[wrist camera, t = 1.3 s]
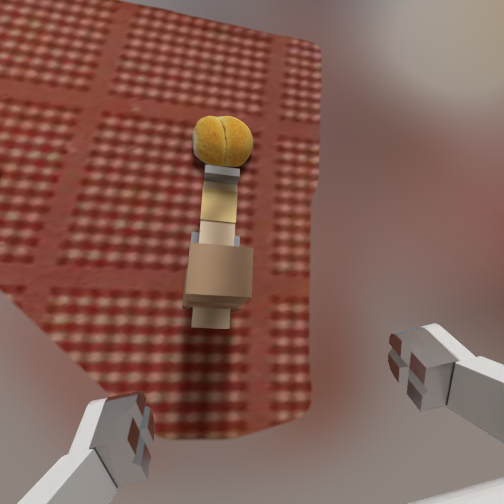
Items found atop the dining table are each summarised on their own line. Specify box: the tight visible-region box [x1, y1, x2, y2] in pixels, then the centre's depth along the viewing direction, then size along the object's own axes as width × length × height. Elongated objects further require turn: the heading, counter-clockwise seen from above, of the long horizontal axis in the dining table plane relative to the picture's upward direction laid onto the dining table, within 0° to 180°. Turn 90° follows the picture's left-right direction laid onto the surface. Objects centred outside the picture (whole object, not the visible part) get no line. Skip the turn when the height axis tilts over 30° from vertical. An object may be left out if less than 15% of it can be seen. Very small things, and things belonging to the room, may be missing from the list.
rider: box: [182, 242, 253, 312], centre depth 30 cm, size 6×4×13 cm, turn 88°
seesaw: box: [191, 165, 240, 329], centre depth 37 cm, size 6×18×9 cm, turn 178°
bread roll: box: [193, 116, 253, 167], centre depth 45 cm, size 8×9×4 cm
